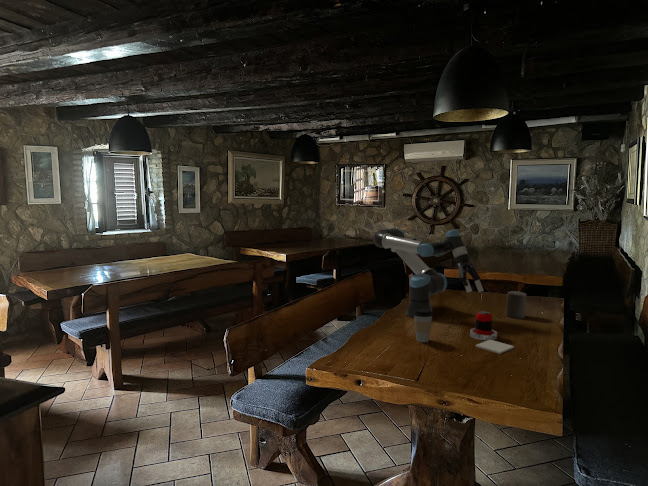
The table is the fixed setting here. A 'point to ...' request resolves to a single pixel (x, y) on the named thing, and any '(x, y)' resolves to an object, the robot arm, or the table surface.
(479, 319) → the soda can
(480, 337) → the steel ring holder
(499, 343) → the cream coaster
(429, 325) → the coffee cup
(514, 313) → the pillar candle
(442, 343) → the table surface
